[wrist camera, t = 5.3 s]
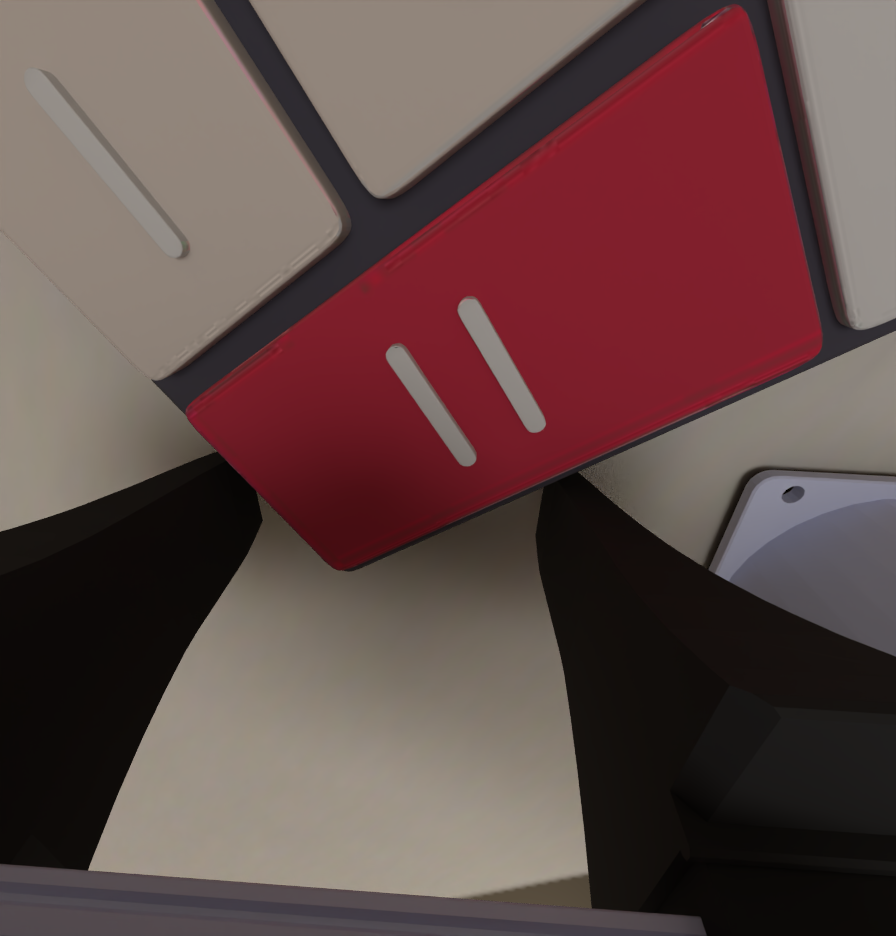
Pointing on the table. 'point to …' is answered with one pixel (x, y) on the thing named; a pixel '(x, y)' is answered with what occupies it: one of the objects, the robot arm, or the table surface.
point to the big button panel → (452, 225)
